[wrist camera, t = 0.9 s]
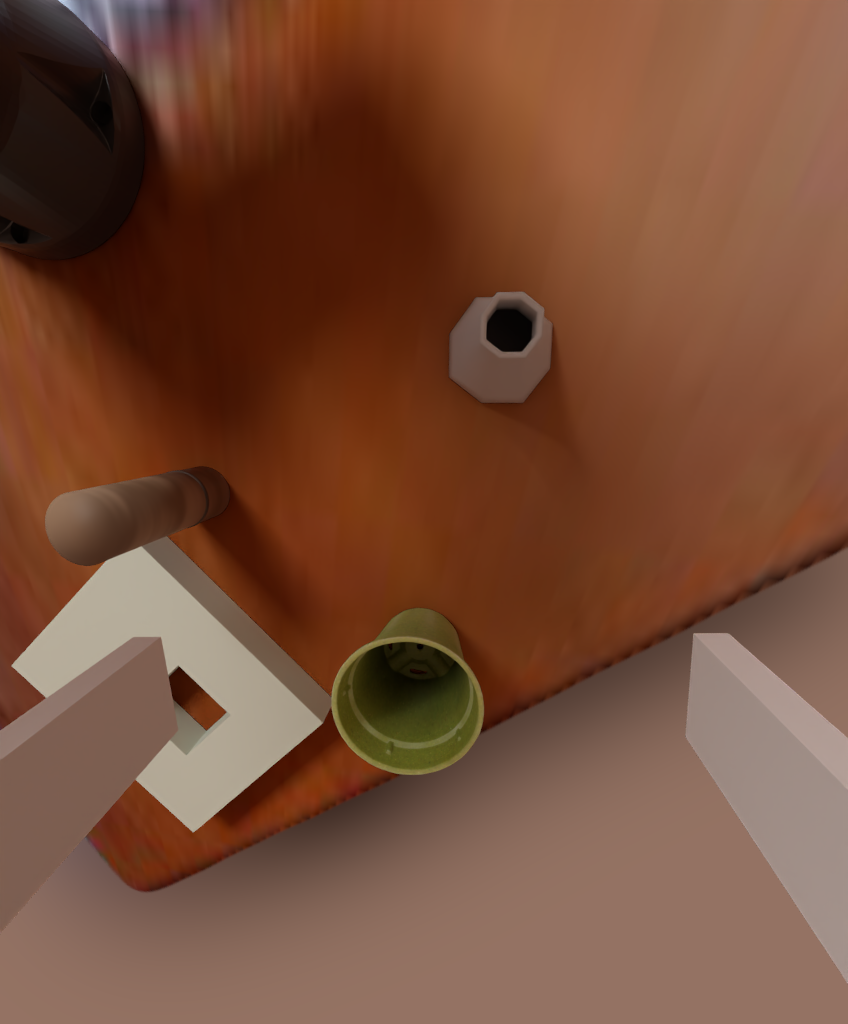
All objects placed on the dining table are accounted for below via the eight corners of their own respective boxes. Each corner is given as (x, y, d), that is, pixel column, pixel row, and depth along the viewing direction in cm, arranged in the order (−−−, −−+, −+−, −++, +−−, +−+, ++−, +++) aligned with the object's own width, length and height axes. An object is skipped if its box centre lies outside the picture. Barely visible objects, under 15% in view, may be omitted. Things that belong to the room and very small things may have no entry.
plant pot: (362, 581, 37) (330, 631, 29) (484, 590, 36) (489, 644, 28) (361, 690, 39) (330, 767, 30) (477, 700, 38) (478, 783, 30)
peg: (169, 491, 37) (29, 526, 25) (202, 454, 36) (73, 474, 24) (207, 528, 37) (87, 581, 26) (241, 493, 36) (132, 531, 25)
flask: (530, 419, 33) (554, 422, 24) (432, 386, 34) (416, 375, 24) (570, 315, 32) (613, 271, 22) (467, 280, 32) (465, 222, 22)
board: (44, 647, 41) (11, 665, 38) (156, 525, 38) (129, 535, 35) (212, 803, 43) (193, 832, 40) (334, 700, 39) (323, 723, 36)
